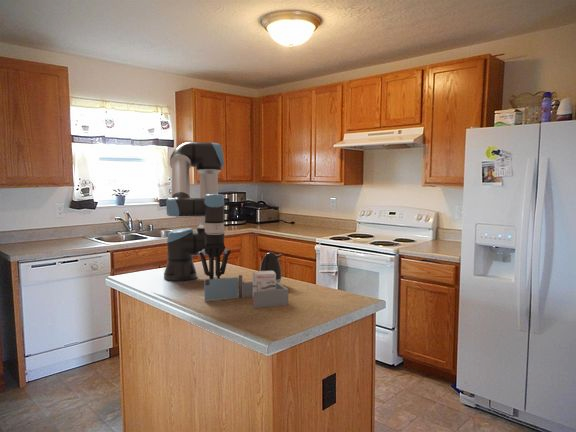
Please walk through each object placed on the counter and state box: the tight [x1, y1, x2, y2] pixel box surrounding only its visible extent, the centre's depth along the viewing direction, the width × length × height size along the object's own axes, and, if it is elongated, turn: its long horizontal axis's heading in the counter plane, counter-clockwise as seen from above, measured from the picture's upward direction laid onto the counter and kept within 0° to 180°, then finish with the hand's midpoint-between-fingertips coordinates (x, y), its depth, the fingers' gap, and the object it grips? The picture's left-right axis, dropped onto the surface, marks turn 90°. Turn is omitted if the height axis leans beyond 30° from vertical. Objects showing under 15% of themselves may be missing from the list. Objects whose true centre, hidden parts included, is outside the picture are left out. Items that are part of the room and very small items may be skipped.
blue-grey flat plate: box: [203, 276, 239, 301], centre depth 166 cm, size 13×1×8 cm, turn 112°
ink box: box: [252, 270, 276, 302], centre depth 162 cm, size 9×5×12 cm, turn 103°
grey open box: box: [238, 274, 289, 309], centre depth 164 cm, size 16×15×9 cm
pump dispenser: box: [259, 251, 283, 283], centre depth 188 cm, size 10×10×15 cm
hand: (214, 292), depth 167 cm, fingers closed
